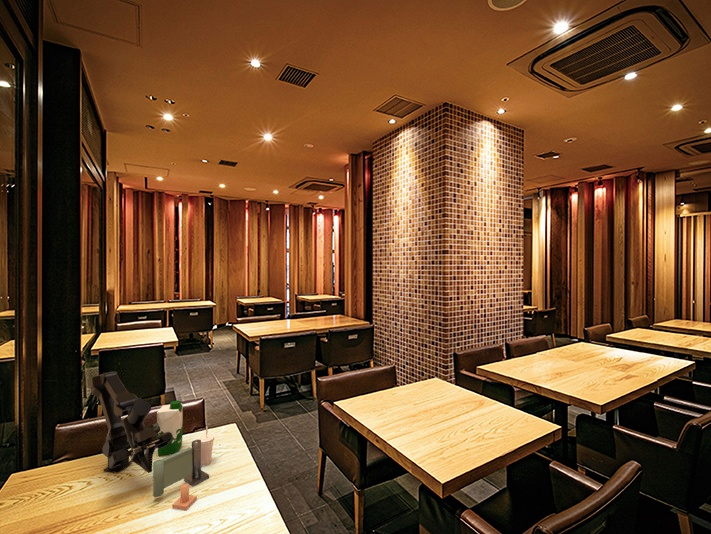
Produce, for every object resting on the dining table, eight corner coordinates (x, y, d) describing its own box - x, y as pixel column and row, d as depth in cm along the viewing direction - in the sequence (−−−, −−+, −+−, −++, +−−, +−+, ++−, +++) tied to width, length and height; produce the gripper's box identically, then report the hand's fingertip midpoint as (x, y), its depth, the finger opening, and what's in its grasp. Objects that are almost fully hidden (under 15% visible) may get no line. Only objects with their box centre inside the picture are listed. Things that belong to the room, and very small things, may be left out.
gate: (188, 475, 122) (188, 446, 122) (193, 478, 120) (193, 448, 120) (151, 494, 112) (151, 462, 112) (155, 498, 110) (155, 465, 110)
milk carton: (179, 455, 139) (178, 405, 139) (154, 458, 137) (154, 408, 137) (184, 444, 148) (184, 397, 148) (161, 447, 145) (161, 399, 146)
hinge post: (199, 472, 127) (199, 435, 127) (209, 478, 123) (208, 440, 124) (183, 480, 122) (183, 442, 122) (193, 486, 119) (192, 447, 119)
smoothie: (207, 468, 130) (207, 431, 130) (192, 466, 131) (192, 429, 131) (217, 459, 136) (217, 423, 136) (203, 457, 137) (203, 422, 137)
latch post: (172, 508, 108) (172, 489, 108) (183, 498, 113) (183, 479, 113) (186, 510, 107) (186, 491, 107) (196, 499, 112) (196, 481, 112)
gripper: (111, 428, 111) (126, 474, 104) (170, 409, 126) (186, 448, 120) (102, 445, 115) (115, 491, 109) (160, 425, 131) (175, 463, 124)
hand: (150, 472), depth 115 cm, fingers closed
